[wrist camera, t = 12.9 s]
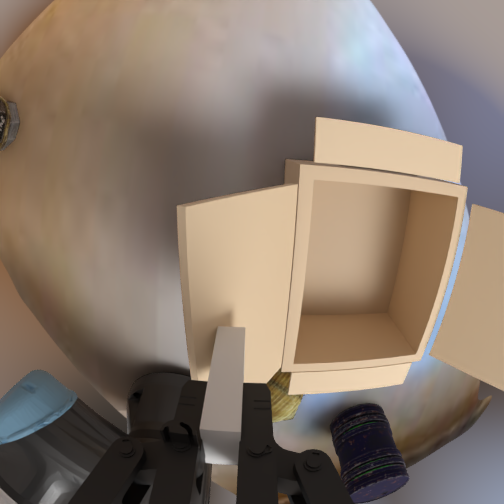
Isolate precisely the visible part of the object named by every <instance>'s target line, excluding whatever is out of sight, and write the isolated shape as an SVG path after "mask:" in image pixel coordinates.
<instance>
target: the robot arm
mask: <svg viewBox="0 0 504 504" xmlns="http://www.w3.org/2000/svg"><path fill="white" fill-rule="evenodd" d="M244 363H245V327H227V326H218V328H217V334H216V339H215V344H214V350H213V355H212V360H211V366H210V371H209V377H208V381H198V380H191V377H188V376H185V375H180V374H175V373H153V374H148V375H145V376H143V377H141V378H139V379H138V380H137V381H135V383H134V384H133V385H132V388H131V390H130V392H129V395H128V398H127V431H128V433H127V434H126V433H124V432H123V431H122V430H120V429H118V428H117V427H116V426H114V425H113V424H111V423H110V422H109V421H107V420H106V419H105V418H103V417H102V416H101V415H99V414H98V413H96V412H95V411H94V410H93V409H91V408H90V407H89V406H88V405H86V404H85V403H84V402H83V401H82V400H80V399H79V398H78V397H77V394H76V393H75V392H74V391H72V390H69V389H68V388H66V387H65V386H64V385H63V384H61V383H60V382H59V381H58V380H57V379H55V378H54V377H53V376H52V375H51V374H49V373H48V372H46V371H43V370H34V371H31V372H30V373H29V374H27V375H26V376H25V377H23V378H22V379H21V380H20V381H19V382H18V383H17V384H16V385H14V386H13V387H12V388H11V389H10V390H9V391H8V392H7V393H6V394H5V395H4V396H3V397H2V398H1V399H0V504H209V499H210V485H211V472H212V464H226V465H238V476H237V501H236V504H278V492H279V493H284V494H287V495H288V498H289V501H290V503H291V504H354V502H353V500H352V498H351V497H350V495H349V493H348V491H347V489H346V487H345V485H344V484H343V482H342V480H341V478H340V476H339V474H338V472H337V470H336V468H335V466H334V465H333V463H332V461H331V459H330V457H329V456H328V455H327V454H326V453H324V452H322V451H321V450H315V449H312V450H306V451H304V452H302V453H296V452H292V451H288V450H285V449H283V448H281V447H280V446H279V445H278V444H277V443H276V442H275V440H274V437H273V424H272V406H271V391H270V390H269V388H268V386H267V385H266V383H244Z"/></svg>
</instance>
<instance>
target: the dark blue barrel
mask: <svg viewBox="0 0 504 504" xmlns="http://www.w3.org/2000/svg"><path fill="white" fill-rule="evenodd" d="M330 429H331V433H332V441H333V445H334V447H335V451H336V454H337V456H338V457H339V461H340V466H341V472H340V473H341V478H342V482H343V484H344V485H345V487H346V489H347V491H348V493H349V495H350V497H351V498H352V500H353V502H354V504H359V503H365V502H370V501H374V500H377V499H380V498H382V497H385V496H387V495H389V494H391V493H393V492H395V491H397V490H399V489H400V488H402V487H403V486H404V485H405V484H406V483H407V482H408V481H409V476H408V473H407V470H406V467H405V463H404V460H403V459H402V457H401V456H402V455H401V453H400V451H399V450H398V449H397V448H396V445H395V443H394V440H393V437H392V431H391V428H390V424H389V422H388V419H387V418H386V416H385V415H384V412H383V409H382V408H381V407H380V406H379V405H377V404H362V405H358V406H355V407H352V408H349V409H347V410H345V411H344V412H342V413H341V414H339V415H338V416H337V417H336V418H335V419H334V420H333V421H332V423H331V426H330Z"/></svg>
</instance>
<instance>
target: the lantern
mask: <svg viewBox="0 0 504 504" xmlns="http://www.w3.org/2000/svg"><path fill="white" fill-rule="evenodd" d="M19 124H20V120H19V116H18V112H17V107H16V103H12V102H8V101H6V100H5V99H4V98H3V97H1V96H0V151H1V150H4V149H5V148H6V147H7V146H8V145H9V144H10V143H11V142H13V141H14V140H15V138H16V134H17V131H18V127H19Z"/></svg>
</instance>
